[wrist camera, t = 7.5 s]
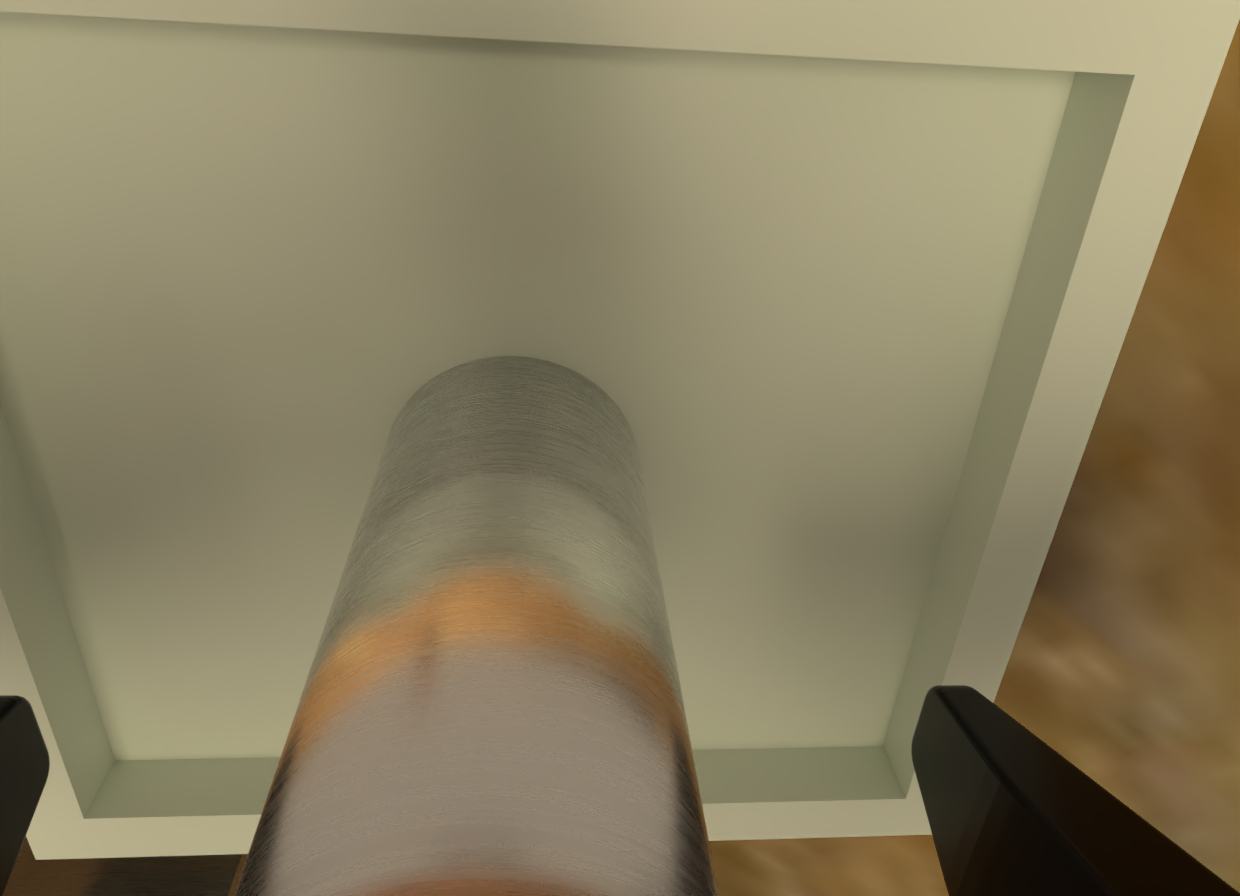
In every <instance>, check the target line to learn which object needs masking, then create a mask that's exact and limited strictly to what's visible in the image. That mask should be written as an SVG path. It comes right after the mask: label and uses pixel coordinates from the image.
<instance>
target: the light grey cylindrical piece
mask: <svg viewBox="0 0 1240 896" xmlns="http://www.w3.org/2000/svg"><path fill="white" fill-rule="evenodd" d="M234 896H719V895H718V889H717V884H716V878H715V873H714V867H713V862H712V856H711V851H710V845H709V840H708V834H707V829H706V823H705V818H704V812H703V807H702V801H701V796H700V790H699V785H698V779H697V774H696V768H695V763H694V757H693V752H692V746H691V741H690V735H689V730H688V724H687V719H686V713H685V708H684V702H683V697H682V691H681V686H680V680H679V675H678V669H677V664H676V658H675V653H674V647H673V642H672V636H671V631H670V625H669V620H668V614H667V609H666V603H665V598H664V593H663V587H662V582H661V576H660V571H659V565H658V560H657V554H656V549H655V543H654V538H653V532H652V527H651V521H650V516H649V510H648V505H647V499H646V494H645V488H644V483H643V477H642V472H641V466H640V461H639V455H638V450H637V445H636V442H635V439H634V435H633V432H632V430H631V428H630V426H629V424H628V422H627V420H626V418H625V416H624V415H623V413H622V412H621V410H620V409H619V407H618V406H617V405H616V404H615V403H614V401H613V400H612V399H611V398H610V397H609V396H608V395H607V394H606V393H605V392H604V391H603V390H602V389H600V388H599V387H598V386H597V385H596V384H595V383H593V382H591V381H590V380H588V379H587V378H585V377H584V376H582V375H581V374H579V373H577V372H575V371H573V370H570V369H568V368H566V367H564V366H561V365H558V364H555V363H552V362H549V361H545V360H540V359H535V358H529V357H518V356H503V357H491V358H484V359H478V360H474V361H471V362H467V363H464V364H461V365H458V366H456V367H454V368H451V369H449V370H447V371H445V372H443V373H441V374H440V375H438V376H436V377H435V378H433V379H431V380H430V381H429V382H427V383H426V384H425V385H424V386H422V387H421V388H420V389H418V390H417V391H416V392H415V394H414V395H413V396H412V397H411V398H410V399H409V400H408V401H407V402H406V404H405V405H404V406H403V408H402V409H401V411H400V412H399V414H398V415H397V417H396V419H395V421H394V423H393V425H392V427H391V430H390V433H389V436H388V439H387V442H386V445H385V448H384V451H383V454H382V457H381V460H380V463H379V466H378V469H377V472H376V475H375V478H374V481H373V484H372V487H371V490H370V493H369V496H368V499H367V502H366V504H365V507H364V510H363V513H362V516H361V519H360V522H359V525H358V528H357V531H356V534H355V537H354V540H353V543H352V546H351V549H350V552H349V555H348V558H347V561H346V564H345V567H344V570H343V573H342V576H341V579H340V582H339V585H338V588H337V591H336V594H335V597H334V600H333V603H332V606H331V609H330V612H329V615H328V618H327V621H326V624H325V627H324V629H323V632H322V635H321V638H320V641H319V644H318V647H317V650H316V653H315V656H314V659H313V662H312V665H311V668H310V671H309V674H308V677H307V680H306V683H305V686H304V689H303V692H302V695H301V698H300V701H299V704H298V707H297V710H296V713H295V716H294V719H293V722H292V725H291V728H290V731H289V734H288V737H287V740H286V743H285V746H284V749H283V752H282V755H281V757H280V760H279V763H278V766H277V769H276V772H275V775H274V778H273V781H272V784H271V787H270V790H269V793H268V796H267V799H266V802H265V805H264V808H263V811H262V814H261V817H260V820H259V823H258V826H257V829H256V832H255V835H254V838H253V841H252V844H251V847H250V850H249V853H248V856H247V859H246V862H245V865H244V868H243V871H242V874H241V877H240V880H239V882H238V885H237V888H236V891H235V894H234Z"/></svg>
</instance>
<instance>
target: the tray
mask: <svg viewBox="0 0 1240 896" xmlns="http://www.w3.org/2000/svg"><path fill="white" fill-rule="evenodd" d="M1239 19H1240V0H0V696H1V695H18V696H21V697H24V698H25V699H26V700H28V701H29V702H30V704H31V706H32V709H33V712H34V714H35V717H36V720H37V722H38V725H39V728H40V731H41V733H42V736H43V739H44V742H45V744H46V747H47V750H48V753H49V759H50V767H49V774H48V778H47V781H46V784H45V787H44V789H43V792H42V795H41V797H40V800H39V803H38V805H37V808H36V810H35V813H34V816H33V818H32V821H31V824H30V826H29V829H28V831H27V834H26V837H27V840H28V842H29V845H30V847H31V850H32V852H33V854H34V857H35V859H36V860H50V859H85V858H120V857H156V856H191V855H226V854H248V853H249V850H250V847H251V844H252V841H253V838H254V835H255V832H256V829H257V826H258V823H259V820H260V817H261V814H262V811H263V808H264V805H265V802H266V799H267V796H268V793H269V790H270V787H271V784H272V781H273V778H274V775H275V772H276V769H277V766H278V763H279V760H280V757H281V755H282V752H283V749H284V746H285V743H286V740H287V737H288V734H289V731H290V728H291V725H292V722H293V719H294V716H295V713H296V710H297V707H298V704H299V701H300V698H301V695H302V692H303V689H304V686H305V683H306V680H307V677H308V674H309V671H310V668H311V665H312V662H313V659H314V656H315V653H316V650H317V647H318V644H319V641H320V638H321V635H322V632H323V629H324V627H325V624H326V621H327V618H328V615H329V612H330V609H331V606H332V603H333V600H334V597H335V594H336V591H337V588H338V585H339V582H340V579H341V576H342V573H343V570H344V567H345V564H346V561H347V558H348V555H349V552H350V549H351V546H352V543H353V540H354V537H355V534H356V531H357V528H358V525H359V522H360V519H361V516H362V513H363V510H364V507H365V504H366V502H367V499H368V496H369V493H370V490H371V487H372V484H373V481H374V478H375V475H376V472H377V469H378V466H379V463H380V460H381V457H382V454H383V451H384V448H385V445H386V442H387V439H388V436H389V433H390V430H391V427H392V425H393V423H394V421H395V419H396V417H397V415H398V414H399V412H400V411H401V409H402V408H403V406H404V405H405V404H406V402H407V401H408V400H409V399H410V398H411V397H412V396H413V395H414V394H415V392H416V391H417V390H418V389H420V388H421V387H422V386H424V385H425V384H426V383H427V382H429V381H430V380H431V379H433V378H435V377H436V376H438V375H440V374H441V373H443V372H445V371H447V370H449V369H451V368H454V367H456V366H458V365H461V364H464V363H467V362H471V361H474V360H478V359H484V358H491V357H503V356H518V357H529V358H535V359H540V360H545V361H549V362H552V363H555V364H558V365H561V366H564V367H566V368H568V369H570V370H573V371H575V372H577V373H579V374H581V375H582V376H584V377H585V378H587V379H588V380H590V381H591V382H593V383H595V384H596V385H597V386H598V387H599V388H600V389H602V390H603V391H604V392H605V393H606V394H607V395H608V396H609V397H610V398H611V399H612V400H613V401H614V403H615V404H616V405H617V406H618V407H619V409H620V410H621V412H622V413H623V415H624V416H625V418H626V420H627V422H628V424H629V426H630V428H631V430H632V432H633V435H634V439H635V442H636V445H637V450H638V455H639V461H640V466H641V472H642V477H643V483H644V488H645V494H646V499H647V505H648V510H649V516H650V521H651V527H652V532H653V538H654V543H655V549H656V554H657V560H658V565H659V571H660V576H661V582H662V587H663V593H664V598H665V603H666V609H667V614H668V620H669V625H670V631H671V636H672V642H673V647H674V653H675V658H676V664H677V669H678V675H679V680H680V686H681V691H682V697H683V702H684V708H685V713H686V719H687V724H688V730H689V735H690V741H691V746H692V752H693V757H694V763H695V768H696V774H697V779H698V785H699V790H700V796H701V801H702V807H703V812H704V818H705V823H706V829H707V834H708V840H709V841H721V840H757V839H792V838H827V837H863V836H898V835H932V832H931V829H930V825H929V821H928V818H927V814H926V810H925V807H924V803H923V799H922V795H921V792H920V788H919V784H918V781H917V777H916V773H915V770H914V766H913V762H912V755H911V745H912V738H913V735H914V732H915V728H916V725H917V722H918V719H919V715H920V712H921V709H922V706H923V702H924V699H925V696H926V694H927V692H928V691H929V689H930V688H932V687H934V686H938V685H965V686H970V687H972V688H974V689H975V690H977V691H978V692H979V693H981V694H982V695H983V696H985V697H986V698H987V699H989V700H990V701H991V702H992V703H994V700H995V697H996V694H997V692H998V689H999V686H1000V683H1001V681H1002V678H1003V675H1004V672H1005V669H1006V667H1007V664H1008V661H1009V658H1010V656H1011V653H1012V650H1013V647H1014V644H1015V642H1016V639H1017V636H1018V633H1019V631H1020V628H1021V625H1022V622H1023V619H1024V617H1025V614H1026V611H1027V608H1028V606H1029V603H1030V600H1031V597H1032V594H1033V592H1034V589H1035V586H1036V583H1037V581H1038V578H1039V575H1040V572H1041V569H1042V567H1043V564H1044V561H1045V558H1046V556H1047V553H1048V550H1049V547H1050V544H1051V542H1052V539H1053V536H1054V533H1055V531H1056V528H1057V525H1058V522H1059V519H1060V517H1061V514H1062V511H1063V508H1064V505H1065V503H1066V500H1067V497H1068V494H1069V492H1070V489H1071V486H1072V483H1073V480H1074V478H1075V475H1076V472H1077V469H1078V467H1079V464H1080V461H1081V458H1082V455H1083V453H1084V450H1085V447H1086V444H1087V442H1088V439H1089V436H1090V433H1091V430H1092V428H1093V425H1094V422H1095V419H1096V417H1097V414H1098V411H1099V408H1100V405H1101V403H1102V400H1103V397H1104V394H1105V392H1106V389H1107V386H1108V383H1109V380H1110V378H1111V375H1112V372H1113V369H1114V367H1115V364H1116V361H1117V358H1118V355H1119V353H1120V350H1121V347H1122V344H1123V342H1124V339H1125V336H1126V333H1127V330H1128V328H1129V325H1130V322H1131V319H1132V316H1133V314H1134V311H1135V308H1136V305H1137V303H1138V300H1139V297H1140V294H1141V291H1142V289H1143V286H1144V283H1145V280H1146V278H1147V275H1148V272H1149V269H1150V266H1151V264H1152V261H1153V258H1154V255H1155V253H1156V250H1157V247H1158V244H1159V241H1160V239H1161V236H1162V233H1163V230H1164V228H1165V225H1166V222H1167V219H1168V216H1169V214H1170V211H1171V208H1172V205H1173V203H1174V200H1175V197H1176V194H1177V191H1178V189H1179V186H1180V183H1181V180H1182V178H1183V175H1184V172H1185V169H1186V166H1187V164H1188V161H1189V158H1190V155H1191V153H1192V150H1193V147H1194V144H1195V141H1196V139H1197V136H1198V133H1199V130H1200V127H1201V125H1202V122H1203V119H1204V116H1205V114H1206V111H1207V108H1208V105H1209V102H1210V100H1211V97H1212V94H1213V91H1214V89H1215V86H1216V83H1217V80H1218V77H1219V75H1220V72H1221V69H1222V66H1223V64H1224V61H1225V58H1226V55H1227V52H1228V50H1229V47H1230V44H1231V41H1232V39H1233V36H1234V33H1235V30H1236V27H1237V25H1238V22H1239Z"/></svg>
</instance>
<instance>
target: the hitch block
mask: <svg viewBox="0 0 1240 896" xmlns="http://www.w3.org/2000/svg"><path fill="white" fill-rule="evenodd" d="M247 856H248V854H226V855H191V856H156V857H120V858H85V859H50V860H36V859H35V857H34V854H33V852H32V850H31V847H30V845H29V842H28V840H27V837H25V839H24V842H23V845H22V847H21V850H20V852H19V855H18V858H17V860H16V863H15V866H14V868H13V871H12V873H11V876H10V879H9V881H8V884H7V887H6V889H5V892H4V894H3V896H234V894H235V891H236V888H237V885H238V882H239V880H240V877H241V874H242V871H243V868H244V865H245V862H246V859H247Z"/></svg>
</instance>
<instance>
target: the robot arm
mask: <svg viewBox="0 0 1240 896" xmlns="http://www.w3.org/2000/svg"><path fill="white" fill-rule="evenodd" d="M911 755H912V762H913V766H914V770H915V773H916V777H917V781H918V784H919V788H920V792H921V795H922V799H923V803H924V807H925V810H926V814H927V818H928V821H929V825H930V829H931V832H932V836H933V840H934V843H935V847H936V851H937V854H938V858H939V862H940V865H941V869H942V873H943V876H944V880H945V883H946V887H947V890H948V893H949V896H1240V893H1239V892H1238V891H1236V890H1235V889H1234V888H1232V887H1231V886H1230V885H1228V884H1227V883H1226V882H1225V881H1223V880H1222V879H1221V878H1219V877H1218V876H1217V875H1215V874H1214V873H1213V872H1212V871H1210V870H1209V869H1208V868H1206V867H1205V866H1204V865H1203V864H1201V863H1200V862H1199V861H1197V860H1196V859H1195V858H1193V857H1192V856H1191V855H1190V854H1188V853H1187V852H1186V851H1184V850H1183V849H1182V848H1180V847H1179V846H1178V845H1177V844H1175V843H1174V842H1173V841H1171V840H1170V839H1169V838H1168V837H1166V836H1165V835H1164V834H1162V833H1161V832H1160V831H1158V830H1157V829H1156V828H1155V827H1153V826H1152V825H1151V824H1149V823H1148V822H1147V821H1145V820H1144V819H1143V818H1142V817H1140V816H1139V815H1138V814H1136V813H1135V812H1134V811H1133V810H1131V809H1130V808H1129V807H1127V806H1126V805H1125V804H1123V803H1122V802H1121V801H1120V800H1118V799H1117V798H1116V797H1114V796H1113V795H1112V794H1110V793H1109V792H1108V791H1107V790H1105V789H1104V788H1103V787H1101V786H1100V785H1099V784H1097V783H1096V782H1095V781H1094V780H1092V779H1091V778H1090V777H1088V776H1087V775H1086V774H1085V773H1083V772H1082V771H1081V770H1079V769H1078V768H1077V767H1075V766H1074V765H1073V764H1072V763H1070V762H1069V761H1068V760H1066V759H1065V758H1064V757H1062V756H1061V755H1060V754H1059V753H1057V752H1056V751H1055V750H1053V749H1052V748H1051V747H1050V746H1048V745H1047V744H1046V743H1044V742H1043V741H1042V740H1040V739H1039V738H1038V737H1037V736H1035V735H1034V734H1033V733H1031V732H1030V731H1029V730H1027V729H1026V728H1025V727H1024V726H1022V725H1021V724H1020V723H1018V722H1017V721H1016V720H1015V719H1013V718H1012V717H1011V716H1009V715H1008V714H1007V713H1005V712H1004V711H1003V710H1002V709H1000V708H999V707H998V706H996V705H995V704H994V703H992V702H991V701H990V700H989V699H987V698H986V697H985V696H983V695H982V694H981V693H979V692H978V691H977V690H975V689H974V688H972V687H970V686H965V685H938V686H934V687H932V688H930V689H929V691H928V692H927V694H926V696H925V699H924V702H923V706H922V709H921V712H920V715H919V719H918V722H917V725H916V728H915V732H914V735H913V738H912V745H911ZM49 767H50V759H49V753H48V750H47V747H46V744H45V742H44V739H43V736H42V733H41V731H40V728H39V725H38V722H37V720H36V717H35V714H34V712H33V709H32V706H31V704H30V702H29V701H28V700H26V699H25V698H24V697H21V696H18V695H1V696H0V896H3V894H4V892H5V889H6V887H7V884H8V881H9V879H10V876H11V873H12V871H13V868H14V866H15V863H16V860H17V858H18V855H19V852H20V850H21V847H22V845H23V842H24V839H25V837H26V834H27V831H28V829H29V826H30V824H31V821H32V818H33V816H34V813H35V810H36V808H37V805H38V803H39V800H40V797H41V795H42V792H43V789H44V787H45V784H46V781H47V778H48V774H49Z"/></svg>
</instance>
